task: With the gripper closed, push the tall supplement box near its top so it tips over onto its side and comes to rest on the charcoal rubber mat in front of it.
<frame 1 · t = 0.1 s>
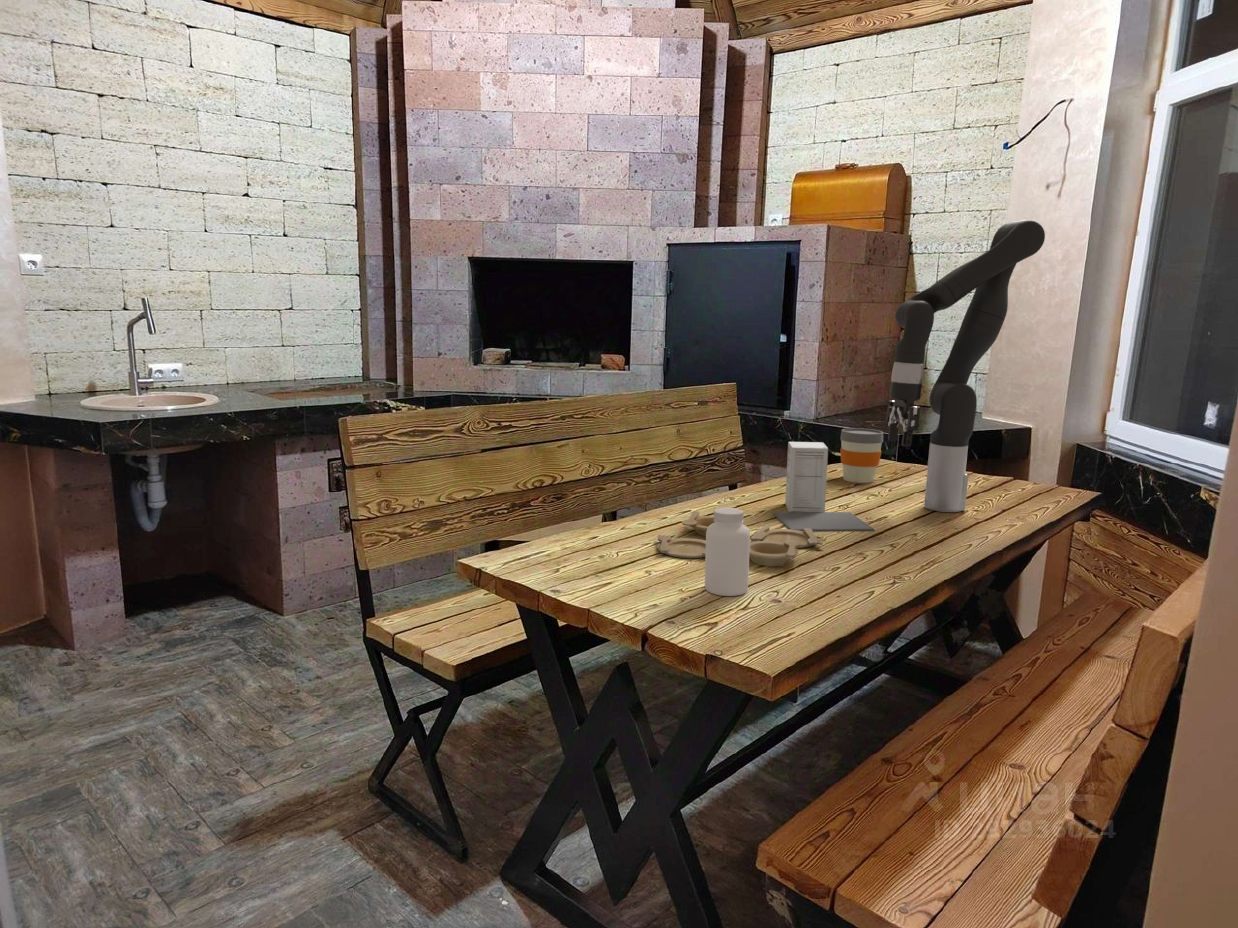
hand: (899, 443, 210), 17 cm above the table, tool pointing down, fingers open, 8 cm apart
supplement box: (804, 508, 213), on the table
reusable coffee cup: (858, 480, 249), on the table
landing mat: (821, 521, 199), on the table
tableware set: (738, 548, 178), on the table
pill bottle: (725, 590, 150), on the table
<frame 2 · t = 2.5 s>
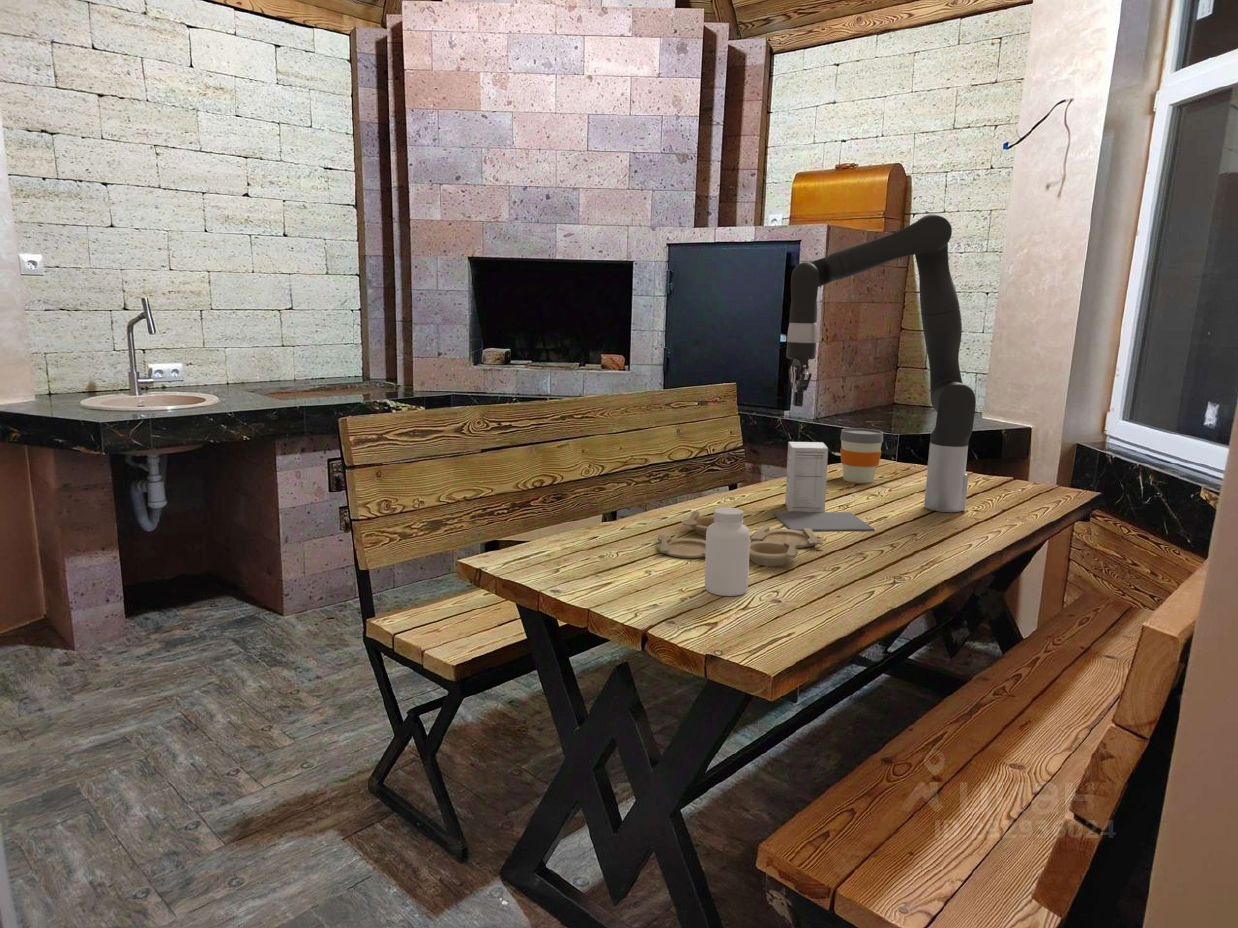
hand: (797, 406, 218), 25 cm above the table, tool pointing down, fingers closed
nothing on the table moved.
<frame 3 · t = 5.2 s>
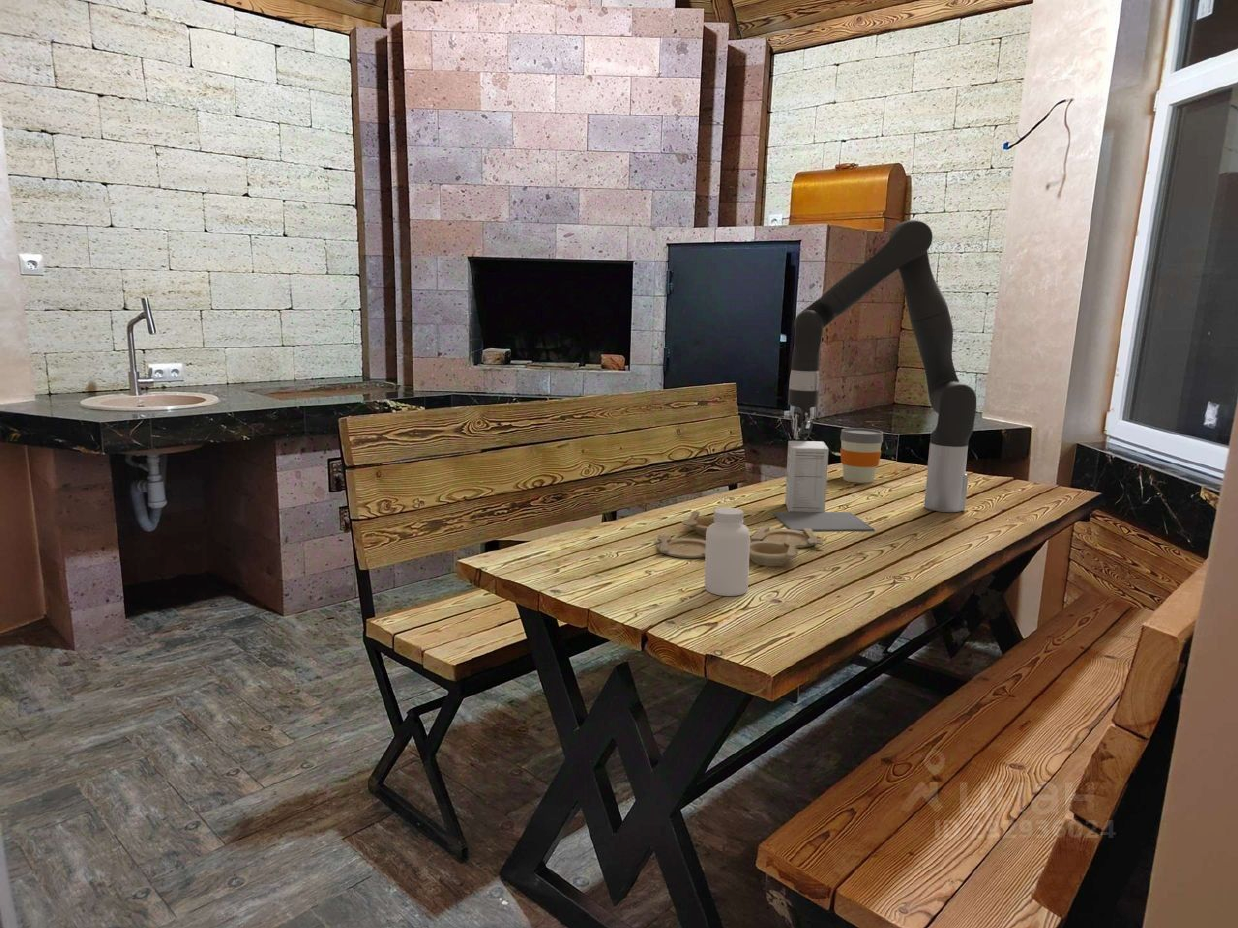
hand: (799, 452, 217), 13 cm above the table, tool pointing down, fingers closed
supplement box: (804, 508, 213), on the table, touching gripper
everything else where it was.
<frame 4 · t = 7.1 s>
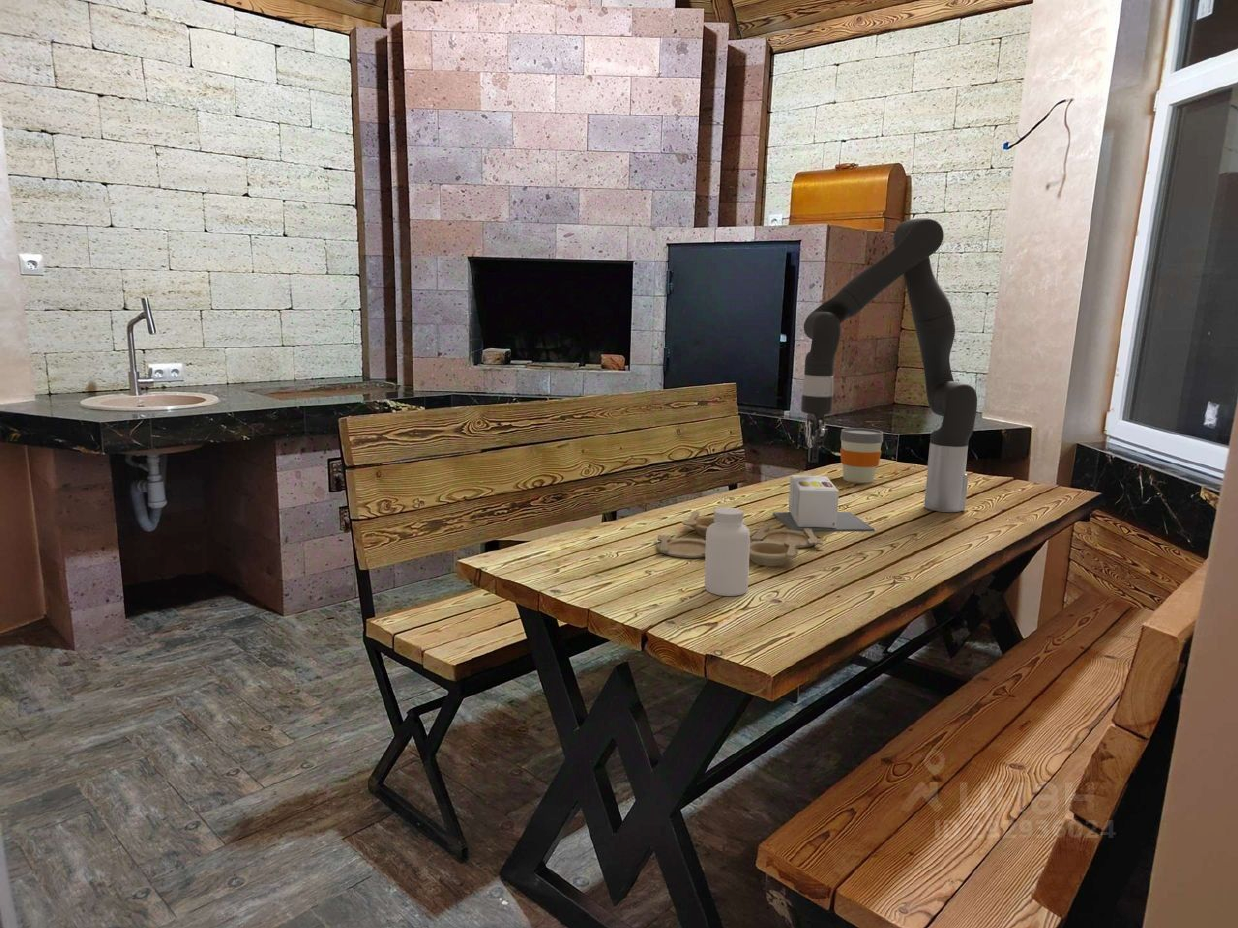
hand: (812, 462, 206), 13 cm above the table, tool pointing down, fingers closed
supplement box: (807, 492, 207), point 5 cm above the table, touching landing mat
everything else where it was.
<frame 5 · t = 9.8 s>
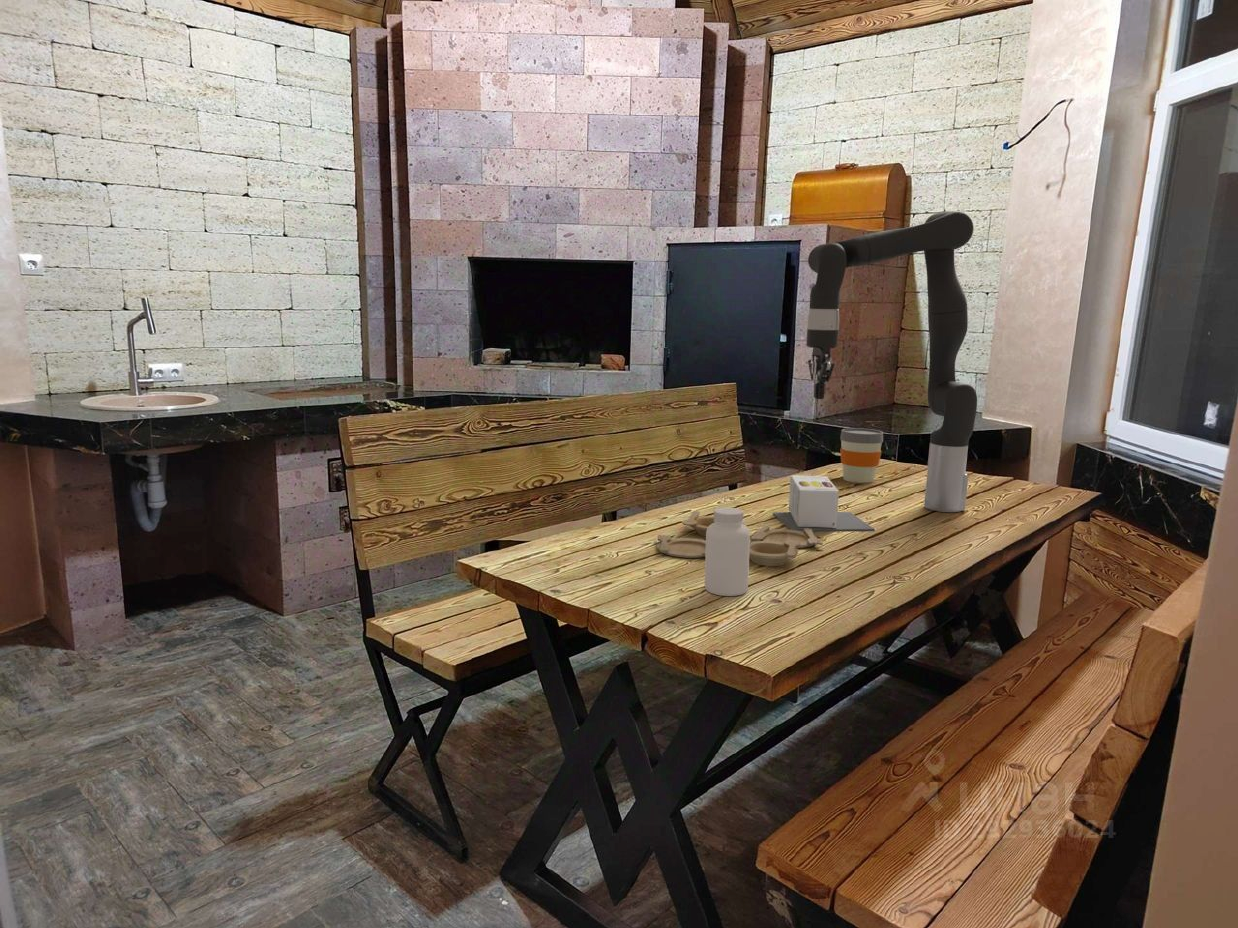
hand: (818, 398, 203), 29 cm above the table, tool pointing down, fingers closed
nothing on the table moved.
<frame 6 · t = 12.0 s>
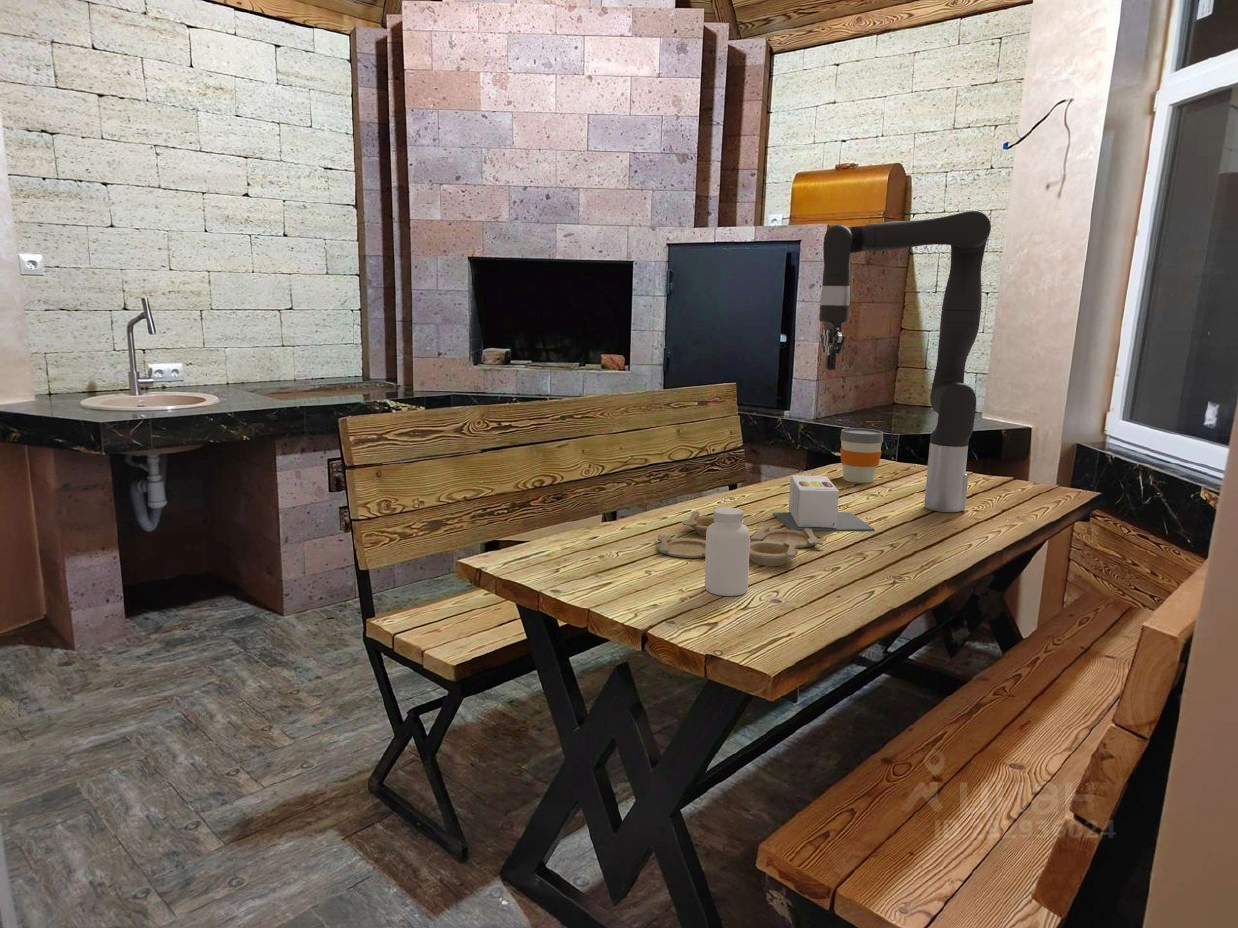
hand: (830, 369, 219), 35 cm above the table, tool pointing down, fingers closed
nothing on the table moved.
at the end: supplement box tilted 90°; supplement box touching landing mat; supplement box inside the target area (3.4 cm from its centre), point 5.0 cm above the table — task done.
